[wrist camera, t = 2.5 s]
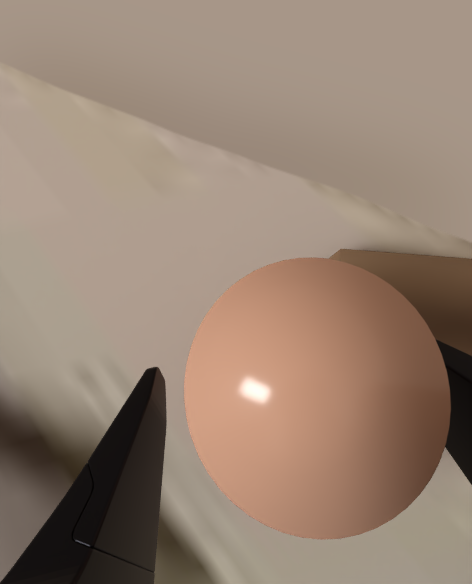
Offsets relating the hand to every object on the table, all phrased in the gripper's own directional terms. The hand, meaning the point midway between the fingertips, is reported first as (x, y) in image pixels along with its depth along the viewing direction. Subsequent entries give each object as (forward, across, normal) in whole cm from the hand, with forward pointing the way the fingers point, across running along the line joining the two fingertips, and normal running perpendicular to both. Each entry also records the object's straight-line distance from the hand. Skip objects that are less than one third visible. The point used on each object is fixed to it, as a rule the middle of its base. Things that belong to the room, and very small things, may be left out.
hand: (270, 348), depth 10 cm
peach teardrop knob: (+5, 0, +6) cm, 8 cm away
